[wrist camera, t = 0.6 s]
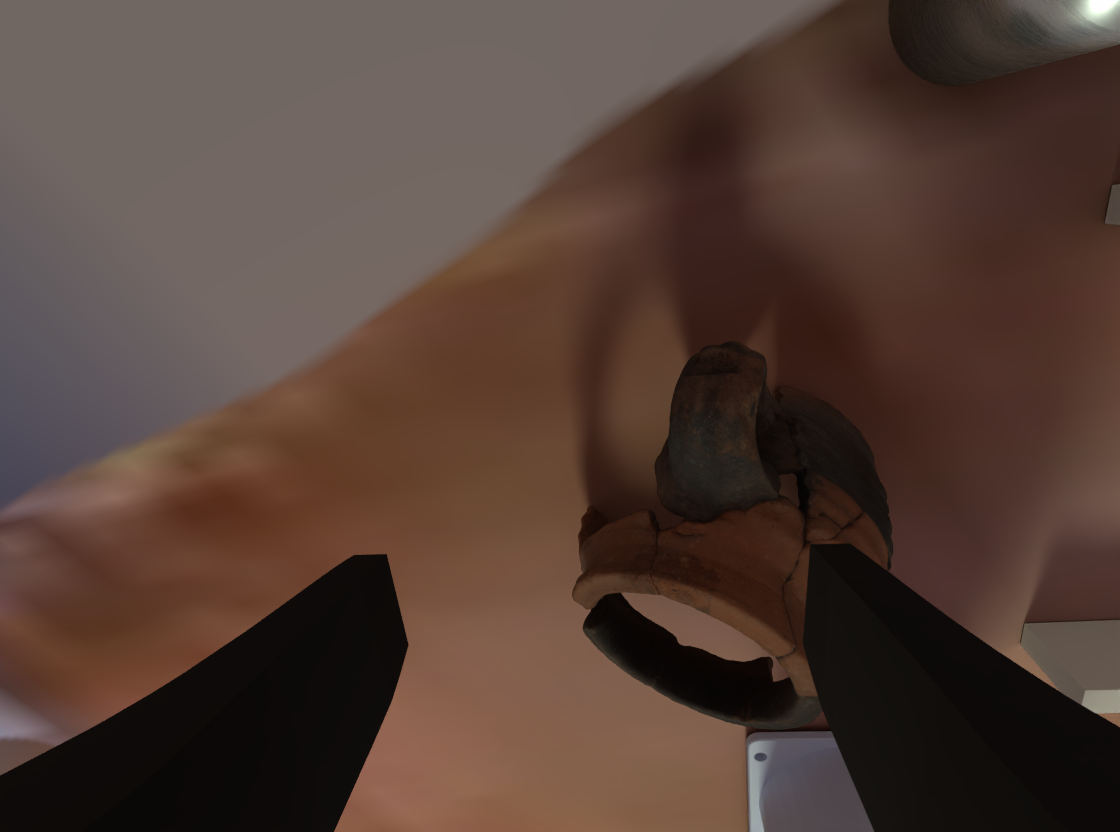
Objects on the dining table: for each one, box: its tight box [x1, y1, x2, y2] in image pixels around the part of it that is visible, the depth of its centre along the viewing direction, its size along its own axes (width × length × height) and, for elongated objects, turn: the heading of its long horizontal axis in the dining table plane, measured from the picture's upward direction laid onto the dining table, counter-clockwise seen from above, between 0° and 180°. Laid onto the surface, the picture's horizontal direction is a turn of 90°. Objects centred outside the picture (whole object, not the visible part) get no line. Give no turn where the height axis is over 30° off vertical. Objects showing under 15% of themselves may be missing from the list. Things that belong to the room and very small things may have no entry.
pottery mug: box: [572, 341, 893, 730], centre depth 18 cm, size 12×10×8 cm
